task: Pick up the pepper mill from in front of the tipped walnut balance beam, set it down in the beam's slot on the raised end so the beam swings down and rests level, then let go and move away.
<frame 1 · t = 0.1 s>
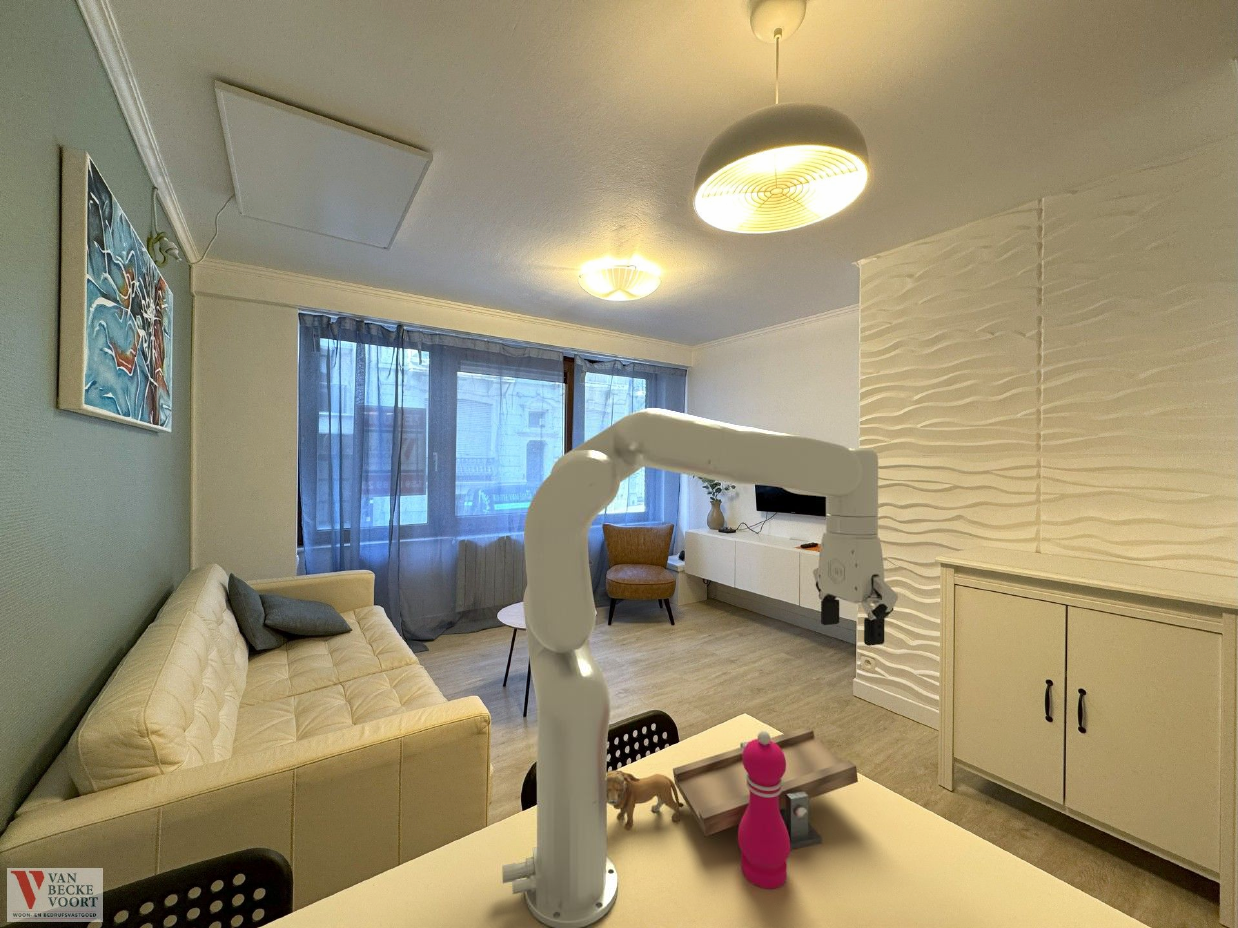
hand: (850, 633, 81), 31 cm above the table, tool pointing down, fingers open, 9 cm apart
lion figurine: (641, 822, 82), on the table
beam stand: (771, 809, 85), on the table
balance beam: (762, 774, 85), point 6 cm above the table, hinge at -8.0°
pepper mill: (763, 872, 72), on the table
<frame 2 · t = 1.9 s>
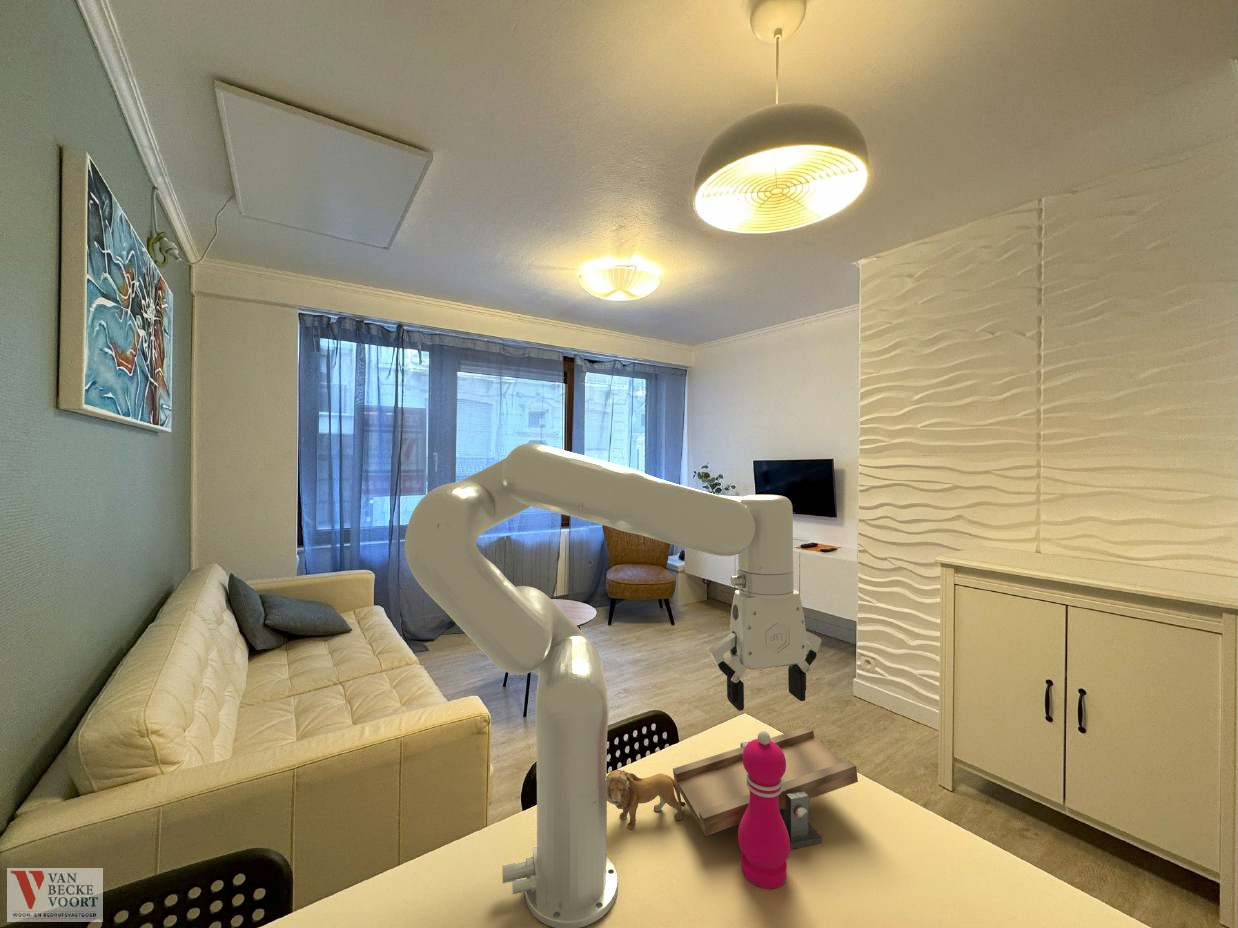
hand: (767, 701, 72), 24 cm above the table, tool pointing down, fingers open, 9 cm apart
nothing on the table moved.
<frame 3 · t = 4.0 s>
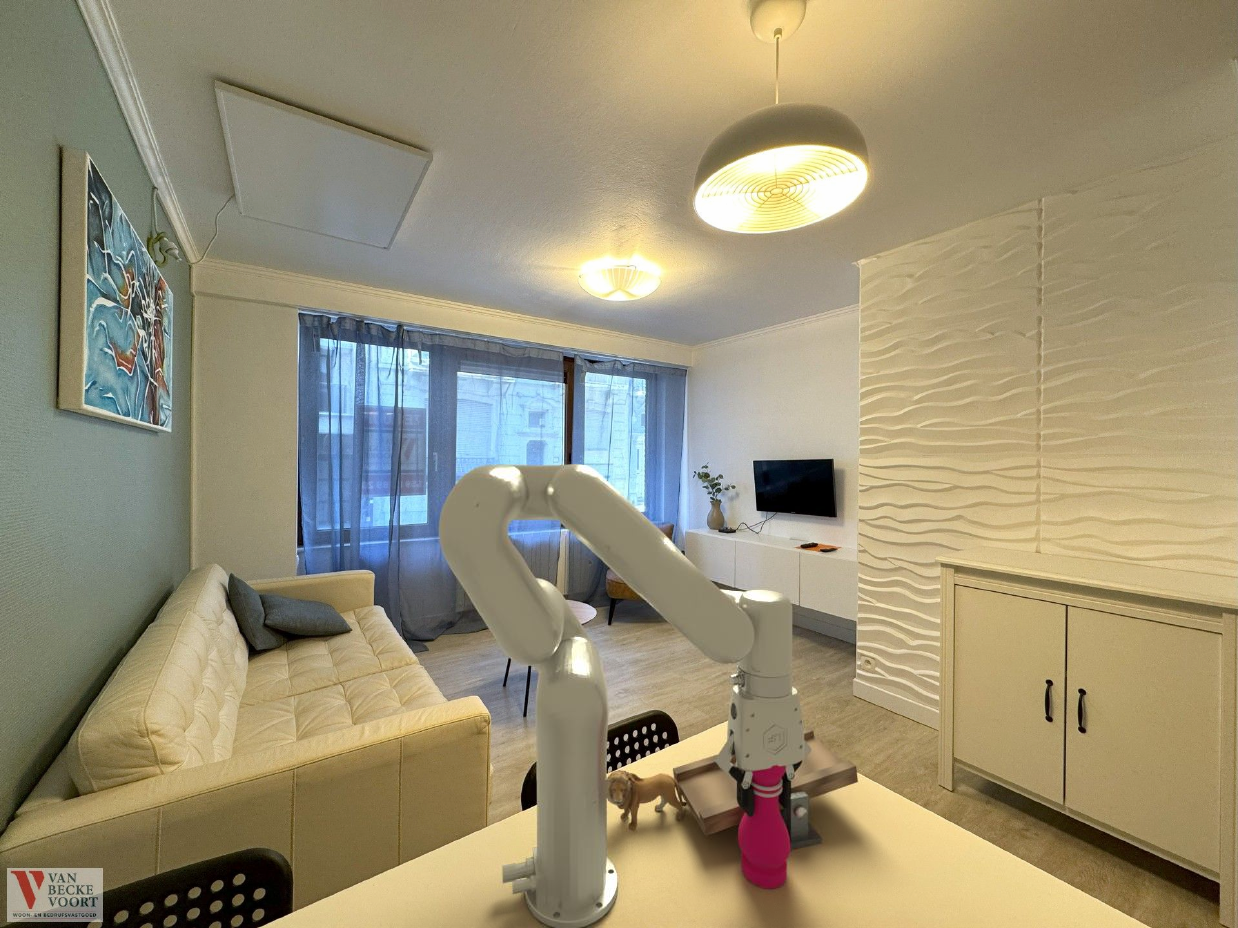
hand: (763, 805, 72), 9 cm above the table, tool pointing down, fingers closed on pepper mill, 5 cm apart
lion figurine: (645, 822, 82), on the table, touching balance beam
balance beam: (762, 774, 85), point 6 cm above the table, hinge at -7.9°, touching lion figurine
pepper mill: (763, 872, 72), on the table, touching gripper
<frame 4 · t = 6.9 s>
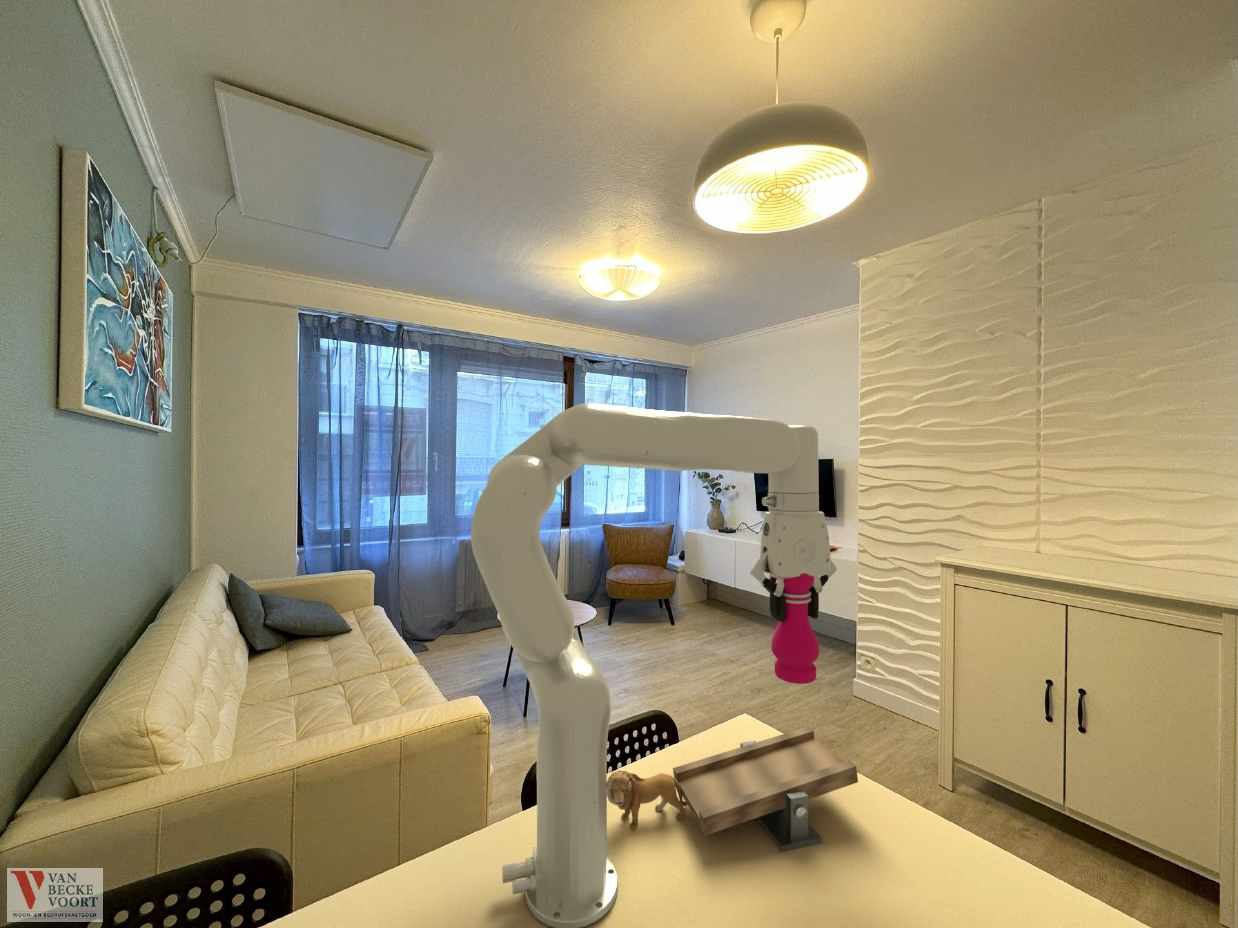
hand: (794, 616, 81), 34 cm above the table, tool pointing down, fingers closed on pepper mill, 5 cm apart
lion figurine: (646, 822, 82), on the table
balance beam: (762, 774, 85), point 6 cm above the table, hinge at -7.7°
pepper mill: (795, 676, 81), point 24 cm above the table, touching gripper
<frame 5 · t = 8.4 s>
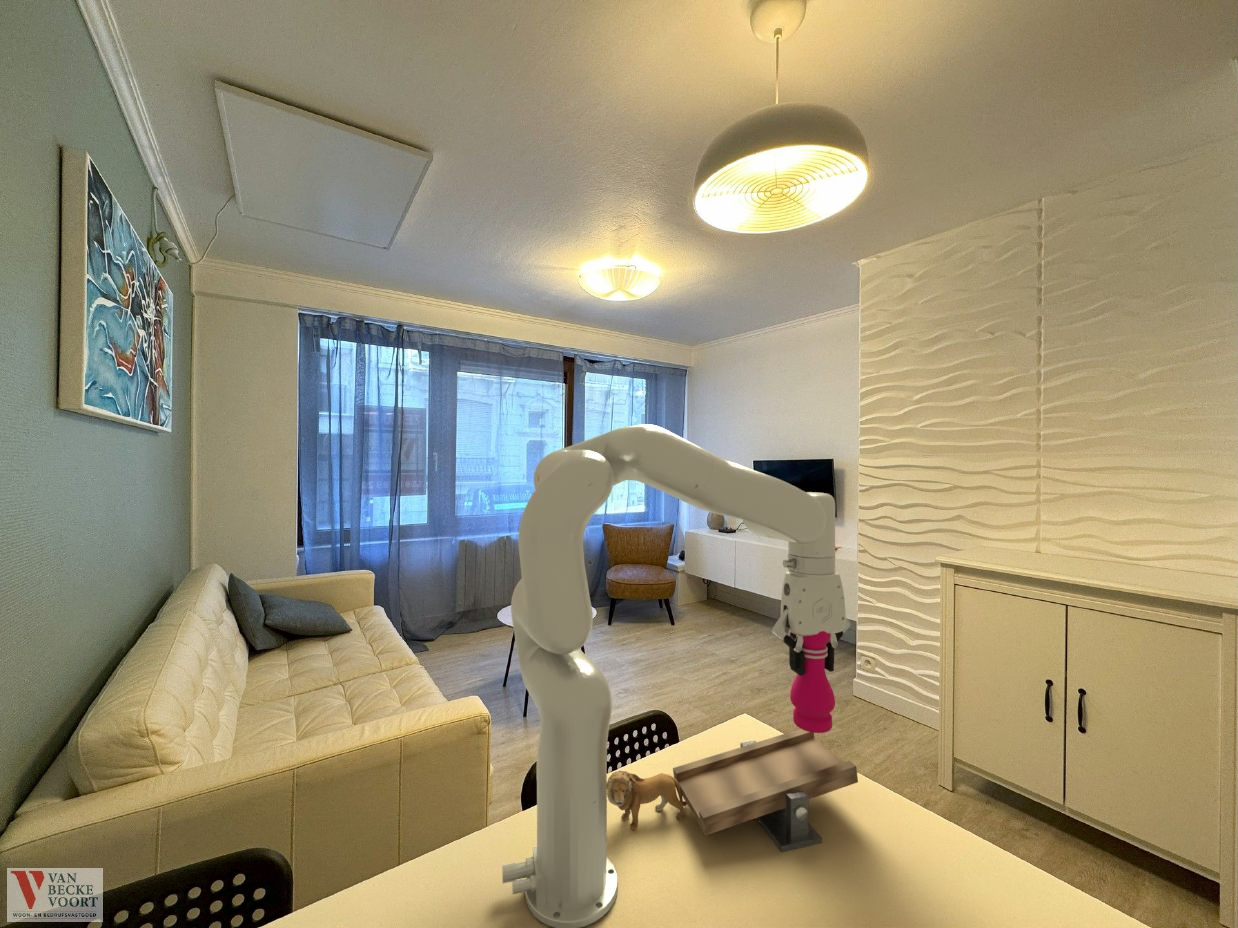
hand: (811, 669, 87), 23 cm above the table, tool pointing down, fingers closed on pepper mill, 5 cm apart
pepper mill: (812, 724, 87), point 13 cm above the table, touching gripper
everything else where it was.
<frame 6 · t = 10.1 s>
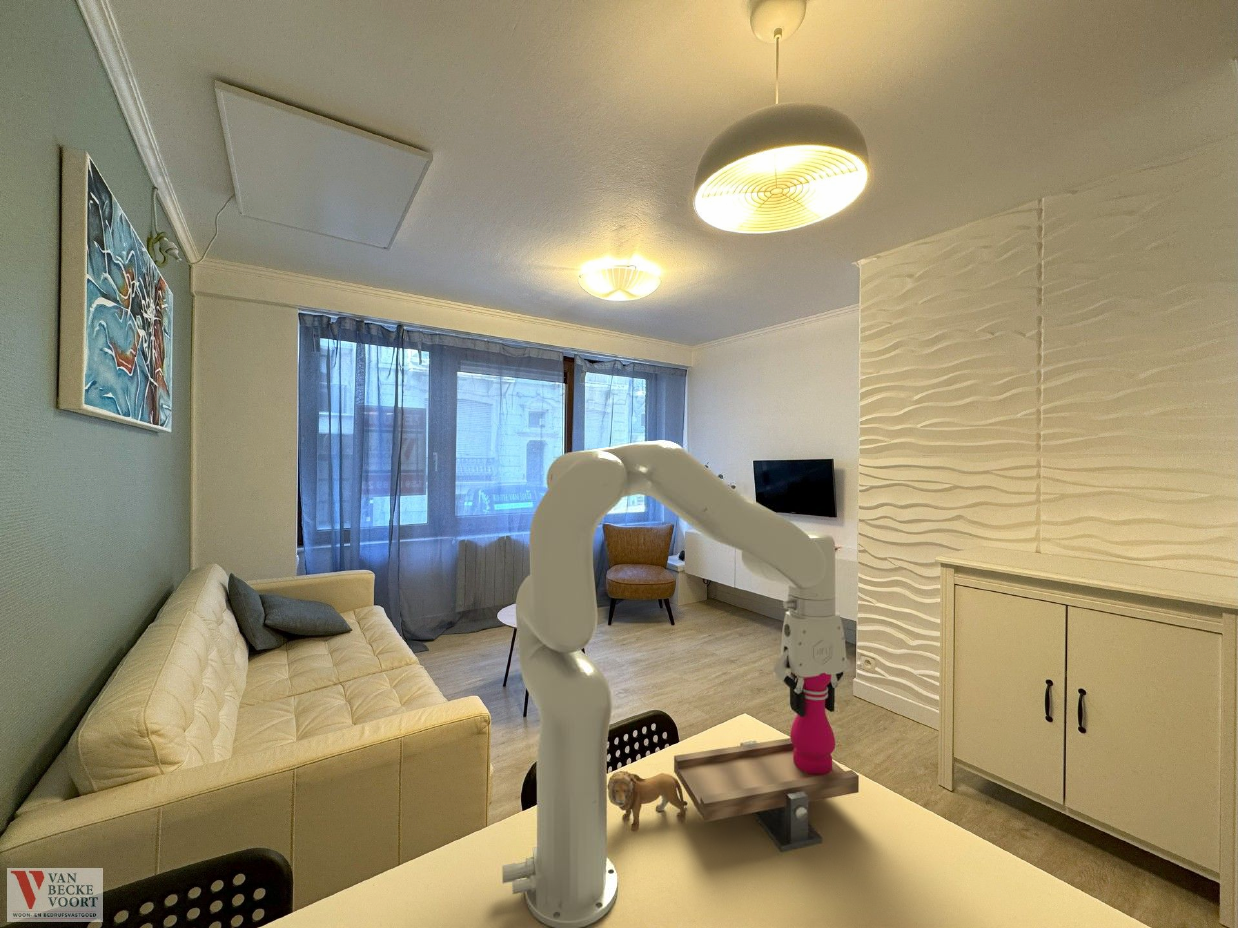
hand: (812, 709, 87), 16 cm above the table, tool pointing down, fingers closed on pepper mill, 5 cm apart
balance beam: (763, 773, 85), point 6 cm above the table, hinge at 0.3°, touching pepper mill
pepper mill: (812, 765, 87), point 6 cm above the table, touching balance beam, gripper
everything else where it was.
when the fingers open (16 cm above the table, at t = 10.1 s): pepper mill stays where it is, resting on balance beam.
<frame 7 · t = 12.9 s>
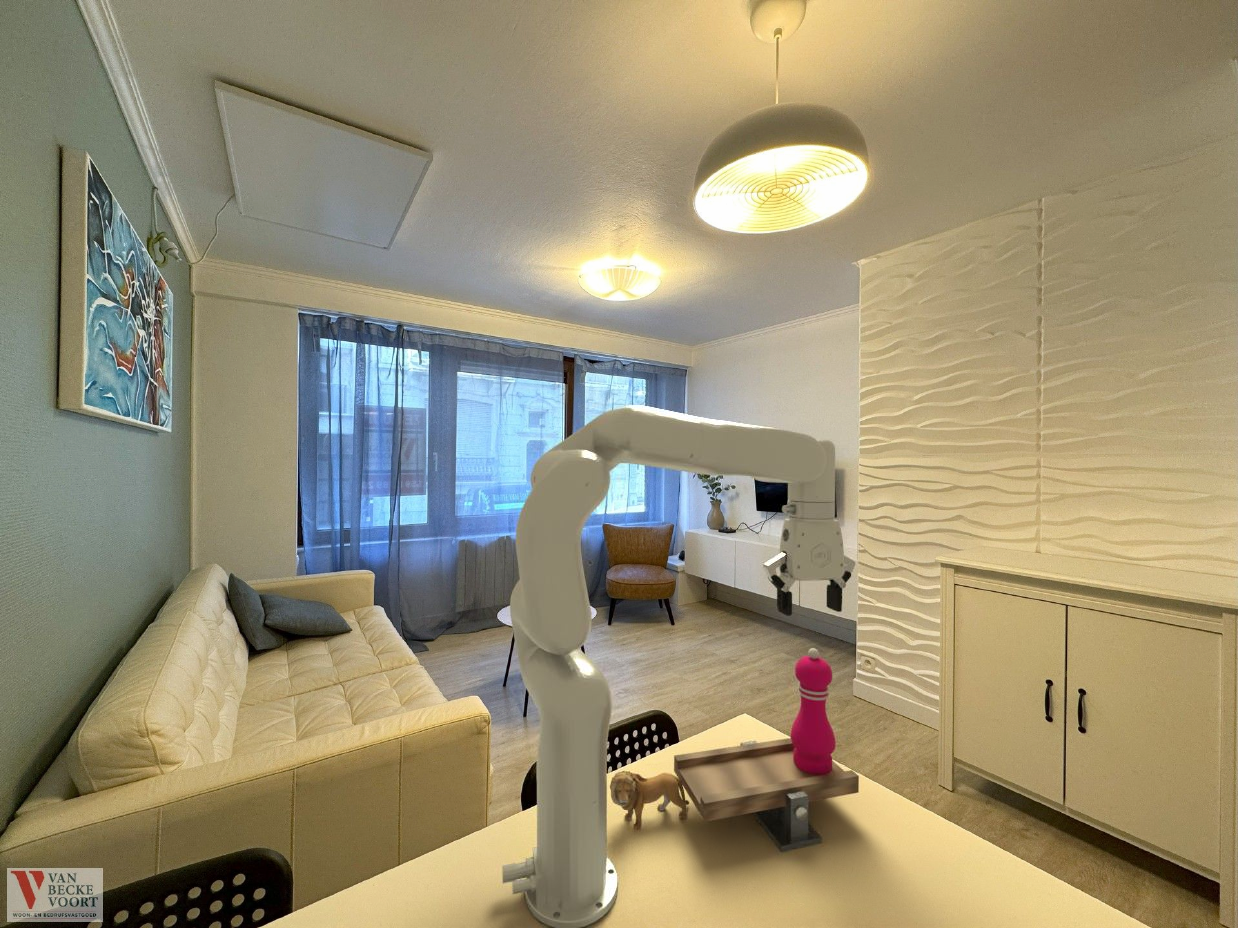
hand: (809, 611, 87), 33 cm above the table, tool pointing down, fingers open, 9 cm apart
pepper mill: (812, 765, 87), point 6 cm above the table, touching balance beam
everything else where it was.
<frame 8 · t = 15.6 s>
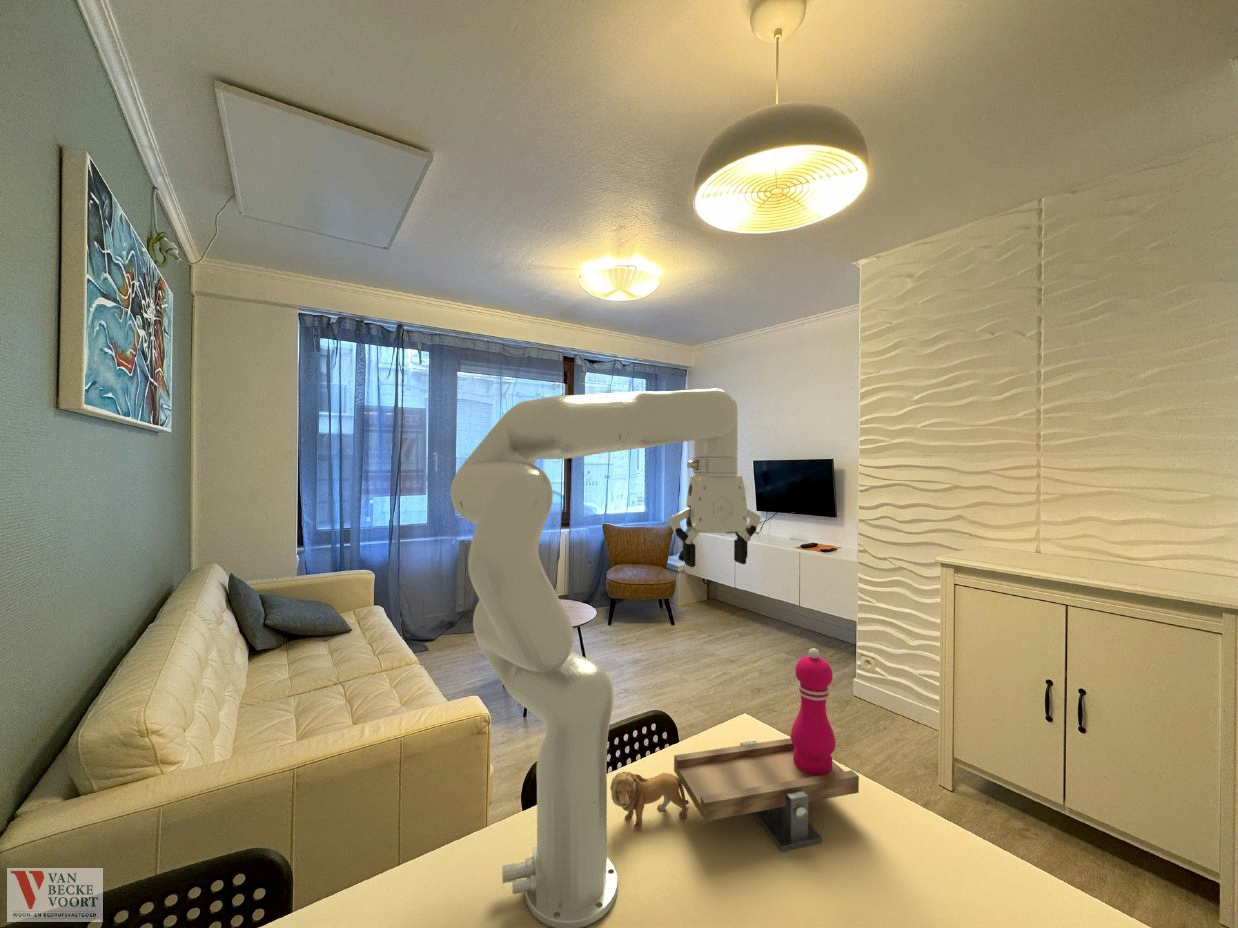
hand: (715, 564, 90), 40 cm above the table, tool pointing down, fingers open, 9 cm apart
nothing on the table moved.
at the end: balance beam at +1° (first picture: -8°); pepper mill 0.7 cm from the target spot on the balance beam, point 1.2 cm above the balance beam's base; pepper mill tilted 1° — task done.
